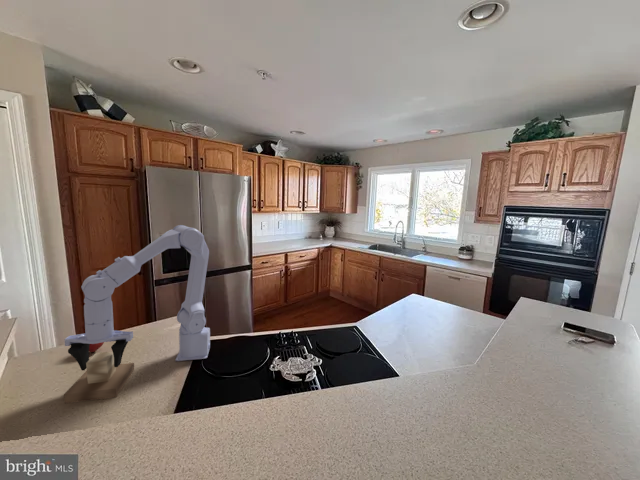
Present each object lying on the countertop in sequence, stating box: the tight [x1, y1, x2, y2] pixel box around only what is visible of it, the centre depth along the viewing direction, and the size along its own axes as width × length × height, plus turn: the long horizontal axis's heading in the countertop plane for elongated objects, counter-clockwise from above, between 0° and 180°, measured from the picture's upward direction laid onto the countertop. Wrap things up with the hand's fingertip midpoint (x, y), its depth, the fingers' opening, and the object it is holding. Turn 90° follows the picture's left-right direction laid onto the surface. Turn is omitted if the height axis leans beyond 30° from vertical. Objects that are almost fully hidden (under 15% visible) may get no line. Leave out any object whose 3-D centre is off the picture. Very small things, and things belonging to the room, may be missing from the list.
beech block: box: [86, 351, 116, 384], centre depth 70 cm, size 4×4×6 cm
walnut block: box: [63, 362, 135, 404], centre depth 70 cm, size 11×11×3 cm
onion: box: [89, 342, 105, 353], centre depth 84 cm, size 6×6×8 cm
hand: (101, 366), depth 70 cm, fingers open, 7 cm apart
